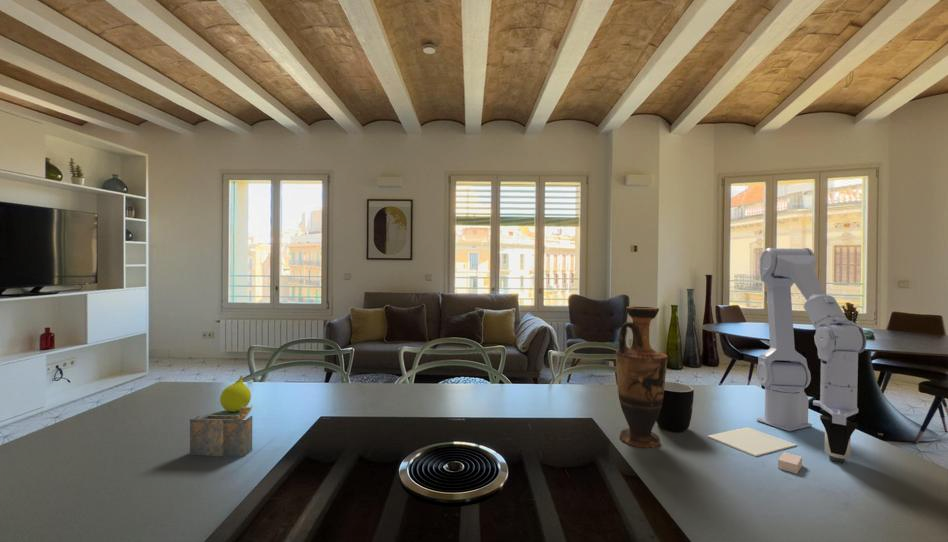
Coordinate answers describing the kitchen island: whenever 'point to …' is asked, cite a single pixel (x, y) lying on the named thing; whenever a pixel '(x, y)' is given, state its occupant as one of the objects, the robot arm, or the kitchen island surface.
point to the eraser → (790, 462)
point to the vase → (640, 379)
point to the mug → (676, 407)
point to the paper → (751, 441)
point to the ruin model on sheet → (221, 434)
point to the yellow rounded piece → (235, 396)
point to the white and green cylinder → (837, 457)
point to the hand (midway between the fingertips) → (837, 449)
